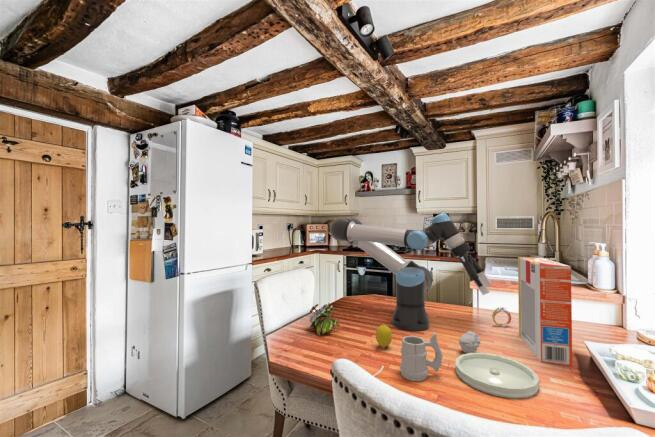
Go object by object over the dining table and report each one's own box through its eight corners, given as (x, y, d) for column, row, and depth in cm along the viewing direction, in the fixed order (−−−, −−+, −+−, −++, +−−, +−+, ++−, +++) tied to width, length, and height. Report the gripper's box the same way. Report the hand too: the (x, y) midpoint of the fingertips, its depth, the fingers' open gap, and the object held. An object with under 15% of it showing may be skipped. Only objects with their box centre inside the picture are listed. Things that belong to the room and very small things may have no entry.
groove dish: (455, 387, 78) (455, 378, 78) (456, 355, 96) (456, 348, 96) (547, 406, 69) (547, 396, 70) (529, 368, 88) (529, 360, 88)
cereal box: (572, 365, 89) (570, 266, 90) (540, 361, 92) (539, 265, 92) (543, 337, 111) (542, 257, 111) (518, 335, 113) (518, 257, 114)
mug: (397, 367, 88) (397, 327, 88) (437, 368, 88) (437, 328, 88) (402, 381, 81) (402, 337, 81) (446, 382, 80) (446, 338, 80)
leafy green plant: (314, 343, 121) (313, 311, 129) (343, 339, 119) (340, 306, 128) (305, 335, 111) (305, 300, 119) (337, 330, 110) (334, 296, 118)
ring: (509, 325, 123) (509, 306, 124) (512, 328, 120) (512, 308, 120) (491, 324, 125) (491, 305, 125) (493, 327, 122) (493, 307, 122)
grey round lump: (485, 355, 96) (485, 334, 96) (467, 358, 94) (467, 336, 94) (471, 348, 102) (471, 327, 102) (454, 350, 100) (454, 330, 100)
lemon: (382, 352, 99) (382, 328, 99) (372, 346, 104) (372, 323, 104) (395, 348, 101) (395, 325, 102) (385, 343, 106) (385, 320, 106)
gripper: (461, 243, 116) (494, 292, 110) (469, 239, 137) (497, 280, 131) (444, 253, 120) (475, 301, 114) (454, 247, 141) (481, 287, 135)
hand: (487, 289), depth 123 cm, fingers open, 13 cm apart
